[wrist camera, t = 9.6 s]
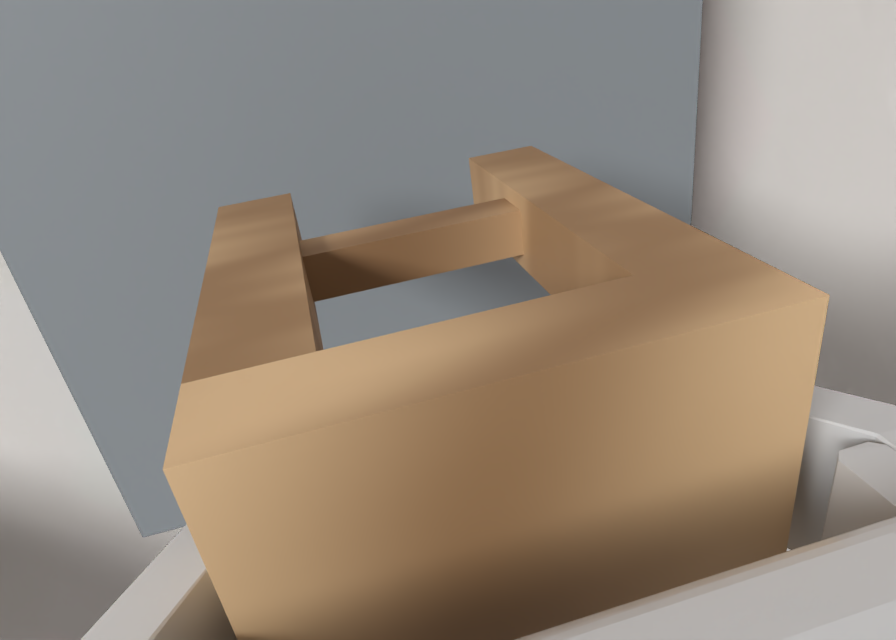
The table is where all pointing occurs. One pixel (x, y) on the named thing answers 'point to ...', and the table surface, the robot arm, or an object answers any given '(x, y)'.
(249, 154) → the slate board
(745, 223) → the table surface
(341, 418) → the wooden stool
